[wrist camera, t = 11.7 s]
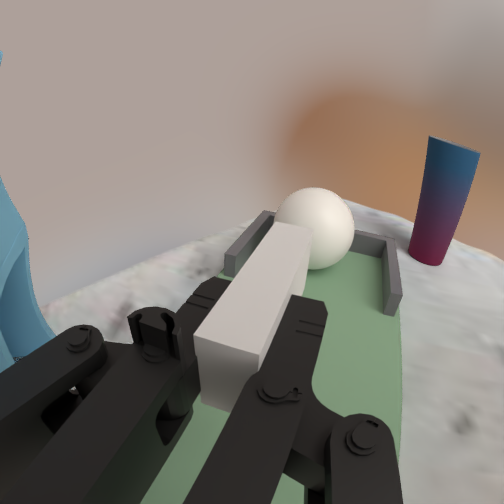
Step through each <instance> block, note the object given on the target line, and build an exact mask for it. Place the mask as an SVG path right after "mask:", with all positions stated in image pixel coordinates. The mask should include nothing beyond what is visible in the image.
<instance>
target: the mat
mask: <svg viewBox="0 0 504 504" xmlns="http://www.w3.org/2000/svg"><path fill="white" fill-rule="evenodd" d="M217 277H218V278H222V279H226V280H230V281H233V279H234V278H232V277H228V276H224V269H223V270H222V271H221V272H220V274H219V275H218V276H217ZM302 297H306V298H311V299H315V300H320V301H324V303H325V306H326V309H327V311H328V317H327V321H326V326H325V330H324V334H323V338H322V342H321V346H320V350H319V354H318V358H317V362H316V365H315V369H314V373H313V376H312V389H313V392H314V394H315V396H316V398H317V399H318V400H319V401H320V402H321V403H322V404H323V405H324V406H326V407H327V408H328V409H330V410H332V411H334V412H335V413H337V414H339V415H341V416H343V417H346V416H348V415H352V414H358V413H362V414H370V415H373V416H375V417H377V418H379V419H381V420H382V421H383V422H384V423H385V424H386V425H387V426H388V427H389V428H390V430H391V433H392V435H393V438H394V443H395V449H396V455H397V462H398V461H399V449H400V435H401V414H402V354H401V332H400V316H399V306H398V308H397V311H396V313H395V316H394V317H392V316H388V315H383V289H382V266H381V258H377V257H372V256H368V255H364V254H360V253H355V252H351V251H348V252H347V253H346V254H345V256H344V257H343V258H342V259H341V260H339V261H338V262H337V263H335V264H334V265H332V266H330V267H327V268H323V269H316V270H311V269H308V270H307V276H306V282H305V288H304V291H303V294H302ZM193 411H194V412H193V415H192V419H191V420H190V422H189V424H188V426H187V427H186V429H185V431H184V432H183V434H182V436H181V437H180V439H179V441H178V442H177V444H176V446H175V447H174V449H173V451H172V452H171V454H170V456H169V457H168V459H167V461H166V462H165V464H164V466H163V467H162V469H161V470H160V472H159V474H158V475H157V477H156V479H155V480H154V482H153V483H152V485H151V487H150V488H149V490H148V491H147V493H146V495H145V496H144V498H143V499H142V501H141V503H140V504H182V503H183V502H184V500H185V498H186V496H187V495H188V493H189V491H190V489H191V487H192V486H193V484H194V482H195V480H196V478H197V476H198V475H199V473H200V471H201V469H202V467H203V465H204V463H205V461H206V460H207V458H208V456H209V454H210V452H211V450H212V448H213V446H214V444H215V443H216V441H217V439H218V437H219V435H220V433H221V431H222V429H223V427H224V425H225V423H226V421H227V419H228V417H229V415H230V413H229V412H226V411H223V410H220V409H217V408H214V407H211V406H209V405H206V404H203V403H201V398H200V393H199V395H198V396H197V398H196V400H195V401H194V403H193ZM271 504H304V485H302V484H300V483H298V482H297V481H295V480H293V479H292V478H290V477H288V476H287V475H285V474H284V473H282V475H281V478H280V481H279V484H278V486H277V489H276V492H275V494H274V497H273V499H272V502H271Z"/></svg>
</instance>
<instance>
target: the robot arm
mask: <svg viewBox="0 0 504 504" xmlns="http://www.w3.org/2000/svg"><path fill="white" fill-rule="evenodd" d="M313 232H314V229H311V228H306V227H301V226H296V225H291V224H286V223H280V222H275V223H274V224H273V226H272V227H271V228H270V230H269V231H268V233H267V234H266V235H265V237H264V238H263V239H262V241H261V242H260V244H259V245H258V246H257V248H256V249H255V251H254V252H253V253H252V255H251V256H250V257H249V259H248V260H247V262H246V263H245V264H244V266H243V267H242V268H241V270H240V271H239V273H238V274H237V275H236V277H235V278H234V279H233V281H230V280H226V279H222V278H218V277H212V278H211V279H209V280H207V281H205V282H203V283H201V284H200V285H199V287H198V288H197V289H196V290H195V291H194V292H193V295H191V296H190V297H189V298H188V299H187V301H186V303H184V304H183V305H182V306H181V308H180V309H179V310H178V311H177V312H176V314H175V313H174V312H172V311H170V310H168V309H166V308H161V307H145V308H142V309H139V310H137V311H134V312H133V313H132V314H130V315H129V316H127V318H128V322H129V326H130V330H131V334H132V338H133V341H134V343H133V344H122V343H114V342H107V341H104V339H103V336H102V334H101V333H100V331H99V330H98V329H97V328H95V327H93V326H91V325H78V326H74V327H71V328H69V329H67V330H65V331H64V332H62V333H61V334H59V335H58V336H56V337H54V338H53V339H51V340H50V341H48V342H47V343H45V344H44V345H42V346H40V347H39V348H37V349H36V350H34V351H33V352H31V353H30V354H28V355H27V356H25V357H24V358H22V359H21V360H19V361H18V362H16V363H14V364H13V365H11V366H10V367H8V368H7V369H5V370H4V371H2V372H1V373H0V504H140V503H141V501H142V499H143V498H144V496H145V495H146V493H147V491H148V490H149V488H150V487H151V485H152V483H153V482H154V480H155V479H156V477H157V475H158V474H159V472H160V470H161V469H162V467H163V466H164V464H165V462H166V461H167V459H168V457H169V456H170V454H171V452H172V451H173V449H174V447H175V446H176V444H177V442H178V441H179V439H180V437H181V436H182V434H183V432H184V431H185V429H186V427H187V426H188V424H189V422H190V420H191V419H192V415H193V412H194V411H193V403H194V401H195V400H196V398H197V396H198V395H199V393H200V398H201V403H203V404H206V405H209V406H211V407H214V408H217V409H220V410H223V411H226V412H229V413H230V415H229V417H228V419H227V421H226V423H225V425H224V427H223V429H222V431H221V433H220V435H219V437H218V439H217V441H216V443H215V444H214V446H213V448H212V450H211V452H210V454H209V456H208V458H207V460H206V461H205V463H204V465H203V467H202V469H201V471H200V473H199V475H198V476H197V478H196V480H195V482H194V484H193V486H192V487H191V489H190V491H189V493H188V495H187V496H186V498H185V500H184V502H183V503H182V504H271V502H272V499H273V497H274V494H275V492H276V489H277V486H278V484H279V481H280V478H281V475H282V473H284V474H285V475H287V476H288V477H290V478H292V479H293V480H295V481H297V482H298V483H300V484H302V485H304V504H403V499H402V491H401V483H400V475H399V468H398V462H397V455H396V449H395V443H394V438H393V435H392V433H391V430H390V428H389V427H388V426H387V425H386V424H385V423H384V422H383V421H382V420H381V419H379V418H377V417H375V416H373V415H370V414H362V413H358V414H352V415H348V416H346V417H343V416H341V415H339V414H337V413H335V412H334V411H332V410H330V409H328V408H327V407H326V406H324V405H323V404H322V403H321V402H320V401H319V400H318V399H317V398H316V396H315V394H314V392H313V389H312V376H313V373H314V369H315V365H316V362H317V358H318V354H319V350H320V346H321V342H322V338H323V334H324V330H325V326H326V321H327V317H328V311H327V309H326V306H325V303H324V301H320V300H315V299H311V298H306V297H302V294H303V291H304V288H305V282H306V276H307V270H308V264H309V258H310V251H311V245H312V239H313ZM74 386H75V387H76V389H75V390H70V389H71V388H72V387H74Z"/></svg>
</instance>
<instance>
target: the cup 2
mask: <svg viewBox="0 0 504 504" xmlns="http://www.w3.org/2000/svg"><path fill="white" fill-rule="evenodd" d="M479 157H480V152H478V151H476V150H473V149H471V148H468V147H466V146H463V145H460V144H457V143H455V142H451V141H448V140H445V139H442V138H438V137H434V136H429V140H428V148H427V155H426V162H425V169H424V176H423V182H422V188H421V193H420V199H419V204H418V209H417V214H416V219H415V223H414V228H413V232H412V237H411V241H410V245H409V249H408V251H409V254H410V255H411V256H412V257H413V258H415V259H416V260H418V261H420V262H422V263H424V264H427V265H432V266H437V265H440V264H441V263H442V261H443V259H444V257H445V254H446V252H447V249H448V247H449V245H450V242H451V240H452V237H453V235H454V232H455V230H456V227H457V225H458V222H459V219H460V216H461V214H462V211H463V208H464V205H465V202H466V200H467V197H468V194H469V190H470V187H471V184H472V181H473V178H474V175H475V171H476V168H477V164H478V161H479Z"/></svg>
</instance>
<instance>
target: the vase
mask: <svg viewBox="0 0 504 504" xmlns="http://www.w3.org/2000/svg"><path fill="white" fill-rule="evenodd" d="M2 55H3V53H2V51H0V64H1V60H2ZM28 239H29V238H28V234H27V230H26V226H25V223H24V221H23V220H22V218H21V216H20V215H19V213H18V211H17V210H16V208H15V206H14V205H13V203H12V201H11V199H10V197H9V195H8V193H7V191H6V189H5V187H4V184H3V182H2V179H1V177H0V373H1V372H2V371H4V370H5V369H7V368H8V367H10V366H11V365H13V364H14V363H15V362H14V360H13V358H12V357H25V356H27V355H28V354H30V353H31V352H33V351H34V350H36V349H37V348H39V347H40V346H42V345H44V344H45V343H47V342H48V341H50V340H51V339H53V338H54V337H56V335H55V334H54V333H53V331H52V330H51V329H50V327H49V326H48V324H47V323H46V321H45V319H44V318H43V316H42V314H41V311H40V309H39V307H38V305H37V302H36V298H35V295H34V291H33V286H32V281H31V273H30V264H29V246H28Z"/></svg>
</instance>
